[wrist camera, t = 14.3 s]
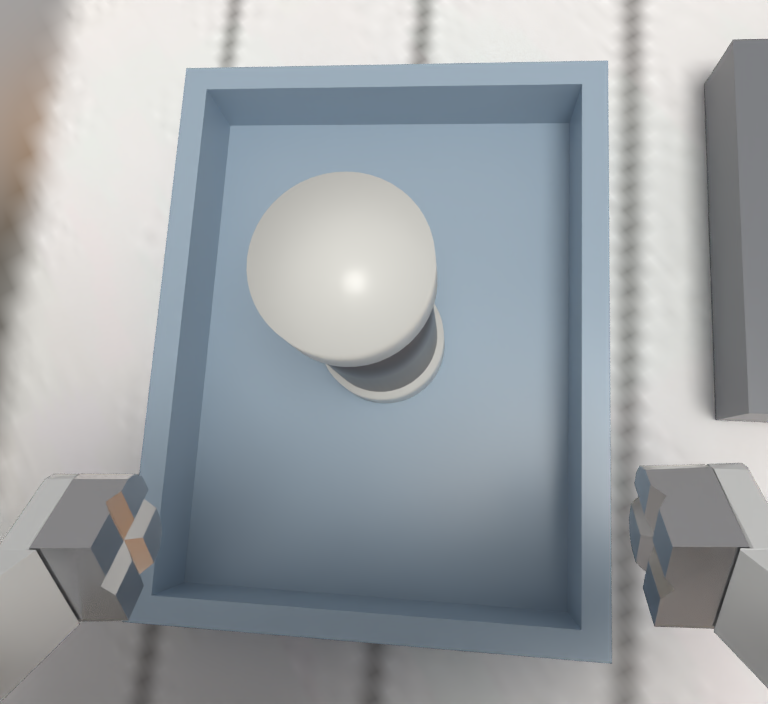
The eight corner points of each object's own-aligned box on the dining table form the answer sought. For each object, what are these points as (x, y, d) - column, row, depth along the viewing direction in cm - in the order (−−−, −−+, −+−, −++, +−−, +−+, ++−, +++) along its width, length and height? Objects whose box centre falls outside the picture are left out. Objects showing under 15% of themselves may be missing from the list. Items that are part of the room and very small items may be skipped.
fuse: (441, 406, 22) (430, 359, 13) (323, 400, 22) (237, 350, 14) (447, 290, 23) (440, 172, 14) (333, 286, 23) (255, 170, 14)
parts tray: (590, 636, 21) (611, 663, 18) (165, 602, 22) (122, 621, 20) (589, 111, 24) (608, 60, 21) (217, 114, 26) (186, 68, 23)
